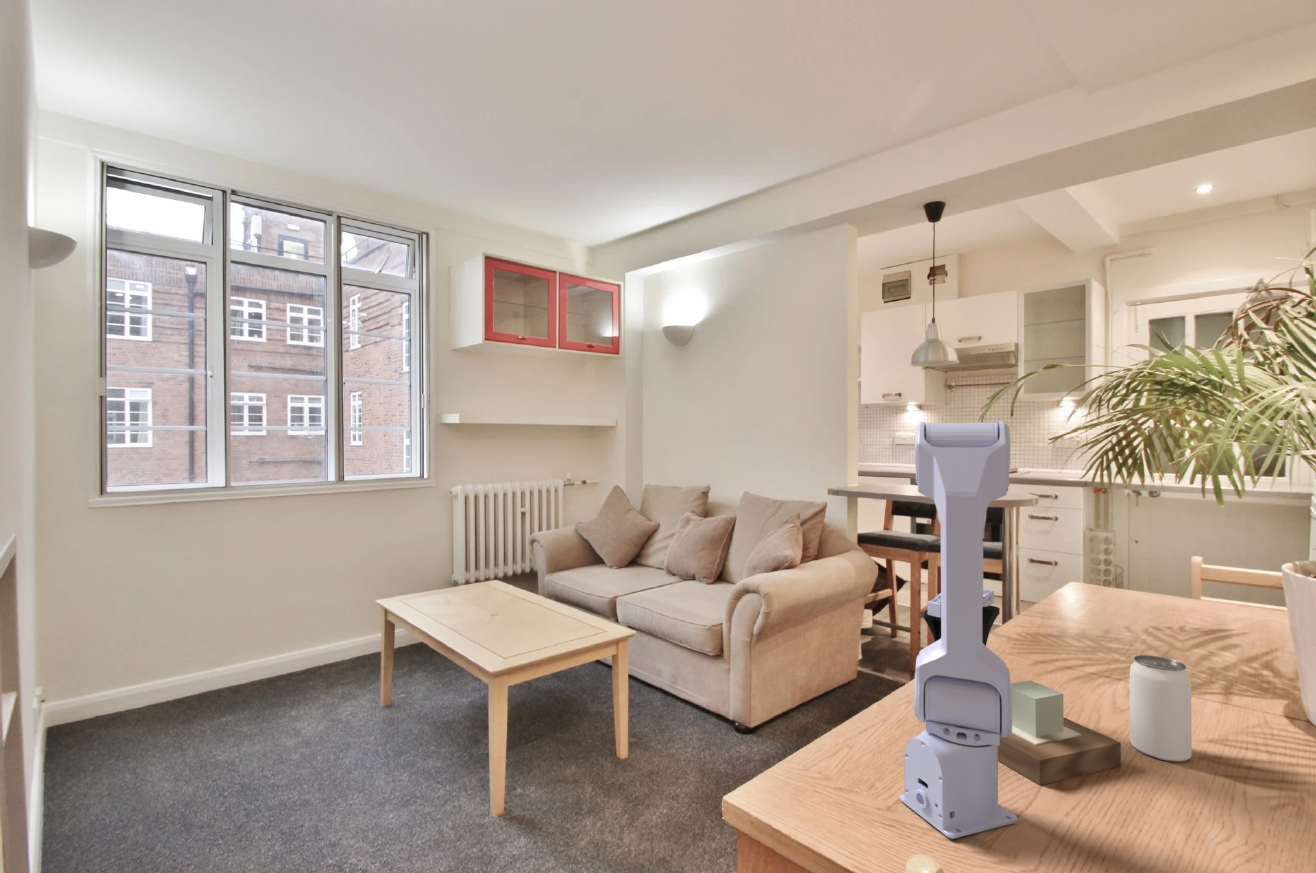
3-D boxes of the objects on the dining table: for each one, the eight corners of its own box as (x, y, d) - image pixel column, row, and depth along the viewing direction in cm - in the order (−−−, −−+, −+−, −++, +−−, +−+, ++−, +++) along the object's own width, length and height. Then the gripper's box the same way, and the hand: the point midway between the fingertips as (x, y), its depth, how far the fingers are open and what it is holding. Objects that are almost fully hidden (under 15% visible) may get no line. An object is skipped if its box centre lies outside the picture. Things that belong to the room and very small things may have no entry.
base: (1039, 785, 76) (1039, 758, 76) (951, 734, 89) (951, 711, 89) (1120, 766, 80) (1120, 741, 80) (1025, 720, 94) (1025, 698, 94)
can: (1131, 735, 89) (1130, 650, 89) (1191, 749, 85) (1190, 661, 85) (1129, 753, 84) (1128, 663, 84) (1192, 769, 80) (1191, 674, 80)
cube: (1035, 737, 81) (1035, 698, 82) (1002, 721, 86) (1002, 684, 86) (1063, 731, 83) (1063, 693, 83) (1029, 715, 88) (1029, 680, 88)
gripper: (960, 577, 86) (960, 675, 86) (1013, 565, 95) (1014, 655, 94) (914, 568, 92) (914, 660, 92) (968, 558, 100) (968, 643, 100)
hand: (962, 657), depth 94 cm, fingers open, 7 cm apart
